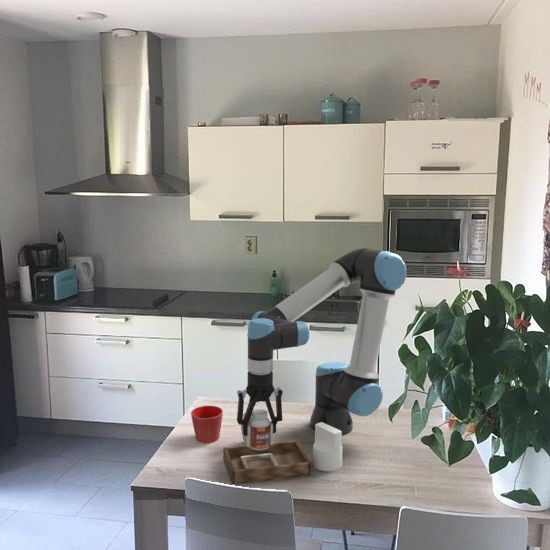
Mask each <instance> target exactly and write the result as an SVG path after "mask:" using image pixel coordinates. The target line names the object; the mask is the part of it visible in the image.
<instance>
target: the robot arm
mask: <svg viewBox="0 0 550 550" xmlns="http://www.w3.org/2000/svg"><path fill="white" fill-rule="evenodd" d="M406 279H407V267H406V263H405V262H404V261H403V258H402V257H401V256H400V255H398V254H397V253H393V252H390V251H386V250H385V251H384V250H378V249H373V248H371V247H360V248H356V249H354V250H351V251H349V252H347V253H345V254H343V255H341V256H340V257H338V258H337V259H335V260H334V261H333V262H331V263H330V264H329V268H328V269H326V270H325V271H323V272H322V273H321V274H319V275H318V276H316V277H315V278H314V279H312V280H310V281H309V282H308V283H306V284H305V285H303V286H302V287H301V288H299V289H298V290H296V291H295V292H294V293H292V294H291V295H289V296H287V297H286V298H285V299H283V300H282V301H281V302H279V303H278V304H276V305H275V306H273V307H272V308H271V309H269V310H268V311H265V310H264V311H261V310H260V311H256V312H255V314H253V316H252V317H251V320H250V321H249V322H248V327H247V336H246V337H247V370H248V371H247V384H246V385H247V386H246V388H245V389H244V390H237V392H236V394H237V396H238V397H237V398H238V402H237V403H238V404H237V413H236V421H237V423H238V425H239V426H241V425H243V434H244V436H246V444H247V446H248V447H250V431H251V426H250V424H249V421H250V418H251V415H252V412H253V411H254V410H255V409H254V408H255V406H256V405H257V403H260V402H263V403H265V405H266V409H267V412H268V415H269V417H270V420H269V421H270V445H273V443H274V441H273V440H274V434H276V433H277V425H278V423H279V422H282V421H283V407H282V396H283V393H284V391H283V390H282V388H281V387H274V385H273V384H274V383H273V382H274V372H273V370H274V351H277V350H281V349H283V350H284V349H290V348H297V347H300V346H304V345H306V344H307V343H308V342H309V340H310V330H309V327H308V324H307V323H306V322H304V321H303V320H298V319H299V318H301V317H302V316H303V315H305V314H306V313H307V312H309V311H310V310H311V309H313V308H315V307H316V306H317V305H318V304H320V303H322V302H323V301H324V300H326V299H327V298H329V297H330V296H332V294H333V293H336V292H337V291H338V290H339V289H341V288H343V287H344V288H347V287H349V286H350V285H352V284H355V283H359V287H358V288H359V290H360V292H361V294H362V298H361V303H360V309H359V315H358V320H357V325H356V330H355V336H354V339H353V345H352V350H351V357H350V360H349V363H345V362H339V361H332V362H331V361H329V362H325V363H321V364H319V365H317V367H316V369H315V403H314V407H313V410H312V413H311V415H310V419H309V428H310V429H311V430H312V431H313V432H315V424H317V423H320V422H323V423H325V424H327V425H329V426H332V427H334V428H336V429H338V430H340V431H342V435H346V434H348V433H350V432H351V431H353V428H354V427H353V426H354V422H353V418H352V414H353V415H356V416H358V417H367V416H370V415H372V414H373V413H374V412H375V411H377V410H378V409H379V408H380V406H381V404H382V402H383V396H384V394H383V393H384V392H383V390H382V388H381V386H379V378H380V375H379V374H378V373H377V371H376V369H377V363H378V361H379V359H378V358H379V353H380V349H381V343H382V339H383V334H384V333H383V332H384V329H385V328H384V327H385V322H386V318H387V312H388V308H389V307H388V306H389V301H390V299H392V298H394V297H395V295H396V290H399V289H400V288H401V287H402V286H403V285H404V284H405V283H406V282H405V281H406ZM273 394H274V396H275V409H276V416H275V411H274V409H273V407H272V402H271V400H270V398H271V396H272V395H273ZM246 395H248V397H249V400H248V405H247V408H246V410H245V412H244V406H245V405H244V404H245V398H246ZM243 413H245V416H244V419H243ZM342 435H341V436H342Z"/></svg>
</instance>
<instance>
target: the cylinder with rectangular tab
mask: <svg viewBox="0 0 550 550" xmlns="http://www.w3.org/2000/svg"><path fill="white" fill-rule="evenodd" d="M312 446H313V447H312V465H313V467H314V468H315V469H317V470H319V471H322V472H334V471H338V470H339V469H341V468H342V466H343V445H342V431H340V430H338V429H336V428H334V427H332V426H329V425H327V424H325V423H323V422H320V423H317V424H315V431H314V443H313V444H312Z"/></svg>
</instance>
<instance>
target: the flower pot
mask: <svg viewBox="0 0 550 550" xmlns="http://www.w3.org/2000/svg"><path fill="white" fill-rule="evenodd" d="M223 413H224V409H222V407H220V406H215V405H202V406H201V405H200V406H197V407H195V408H193V409H192V410H191V412H190V415H191V421H192V426H193V430H194V431H193V432H194V435H195V440H196V441H197V442H198V443H200V444H211V443H215V442H216V441H218V440H220V436H221V429H222V421H223V416H224V415H223Z"/></svg>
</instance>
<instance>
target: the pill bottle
mask: <svg viewBox="0 0 550 550" xmlns="http://www.w3.org/2000/svg"><path fill="white" fill-rule="evenodd" d="M268 415H269V412H268V410H266V409H261V408H260V409H253V412H252V417H253V418H252V419H251V420H250V426H251V431H250V448H251V449H253V450H258V451H262V450H266V449H267V448H269V444H270V421H271V420H270V419H269V417H268Z"/></svg>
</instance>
